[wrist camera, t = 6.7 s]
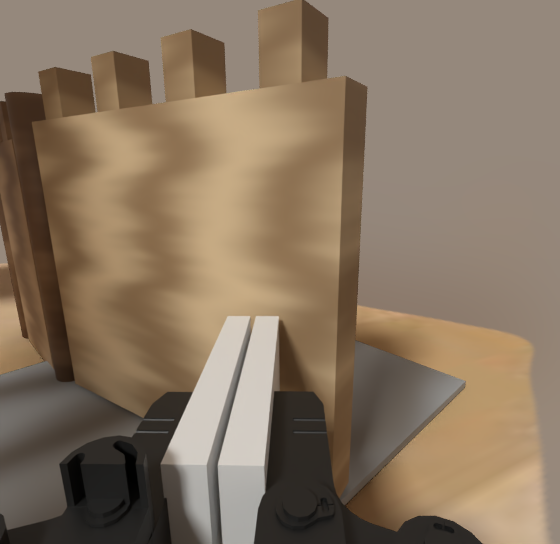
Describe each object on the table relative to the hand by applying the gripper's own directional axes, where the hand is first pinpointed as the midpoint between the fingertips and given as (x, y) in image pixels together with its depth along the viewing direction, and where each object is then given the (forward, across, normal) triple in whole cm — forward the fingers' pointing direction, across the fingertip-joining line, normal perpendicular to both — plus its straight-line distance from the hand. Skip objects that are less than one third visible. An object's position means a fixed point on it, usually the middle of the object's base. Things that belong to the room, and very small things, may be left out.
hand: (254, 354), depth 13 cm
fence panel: (+4, -4, -6) cm, 8 cm away
